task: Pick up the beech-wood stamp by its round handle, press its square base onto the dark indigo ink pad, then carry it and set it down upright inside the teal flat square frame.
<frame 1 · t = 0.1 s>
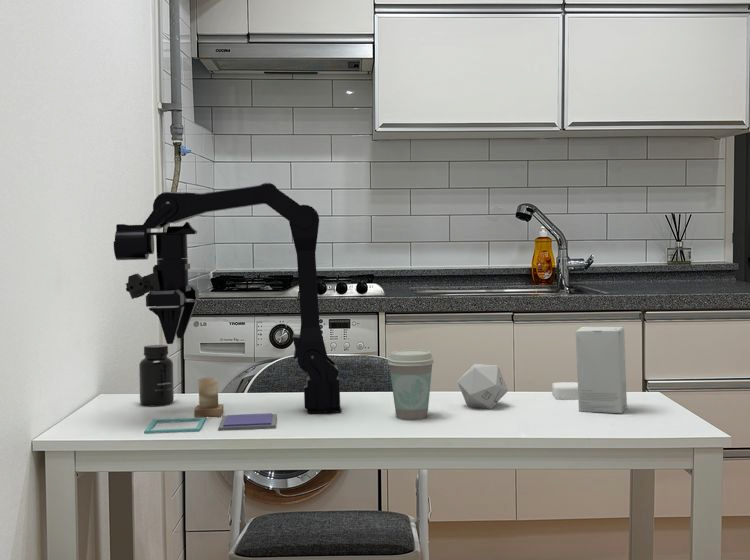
hand: (175, 340, 160), 14 cm above the table, fingers open, 9 cm apart
coffee cup: (411, 417, 155), on the table
ink pad: (248, 423, 153), on the table
teal flat square frame: (176, 426, 151), on the table
supplement bottle: (157, 404, 174), on the table
soap: (575, 399, 171), on the table
die: (482, 407, 164), on the table
skincare box: (601, 411, 158), on the table
stamp: (209, 415, 161), on the table
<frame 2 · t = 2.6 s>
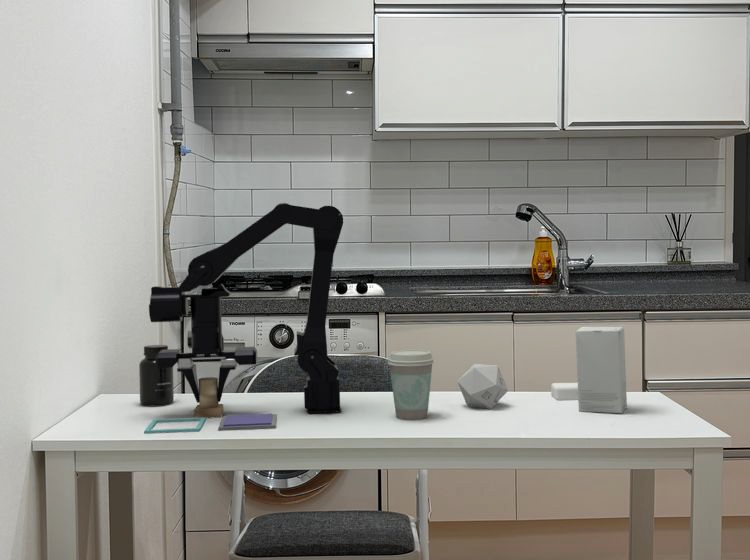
hand: (208, 401, 161), 3 cm above the table, fingers closed on stamp, 4 cm apart
stamp: (209, 415, 161), on the table, touching gripper
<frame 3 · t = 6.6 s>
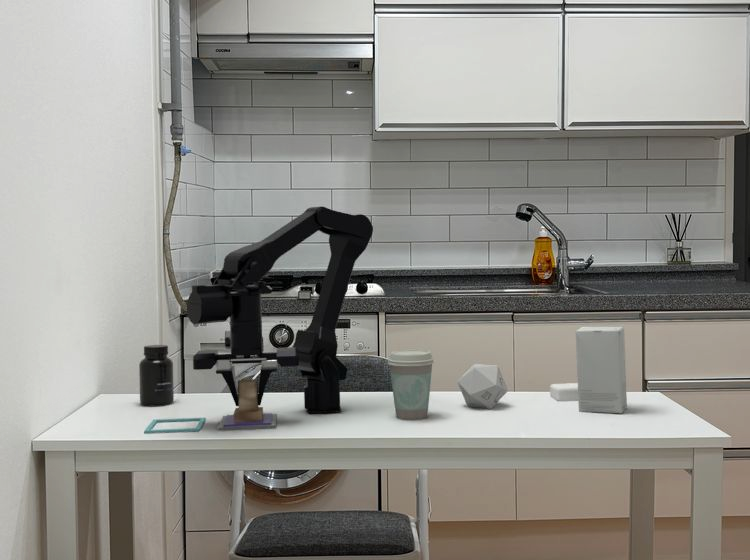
hand: (248, 405, 152), 3 cm above the table, fingers closed on stamp, 4 cm apart
stamp: (248, 418, 153), point 1 cm above the table, touching gripper, ink pad
when the fingers open (4 cm above the table, at t = 10.8 s): stamp drops 2 cm, resting in teal flat square frame.
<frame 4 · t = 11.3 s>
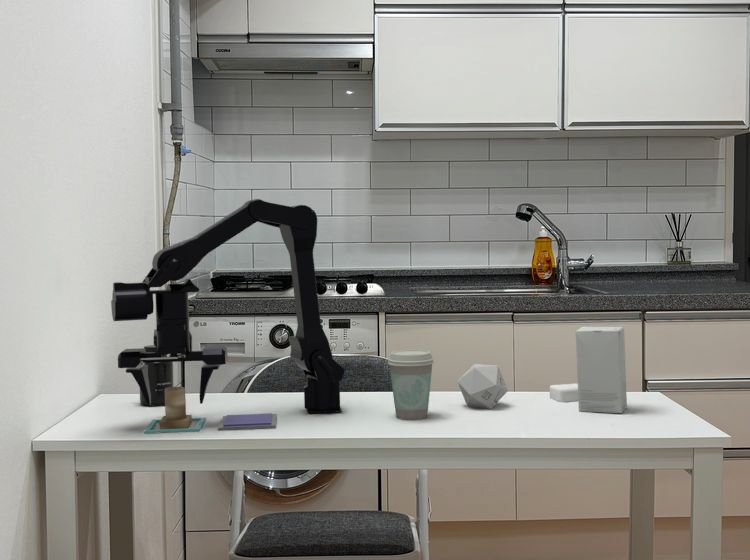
hand: (175, 404, 151), 4 cm above the table, fingers open, 9 cm apart
stamp: (176, 426, 151), resting in teal flat square frame
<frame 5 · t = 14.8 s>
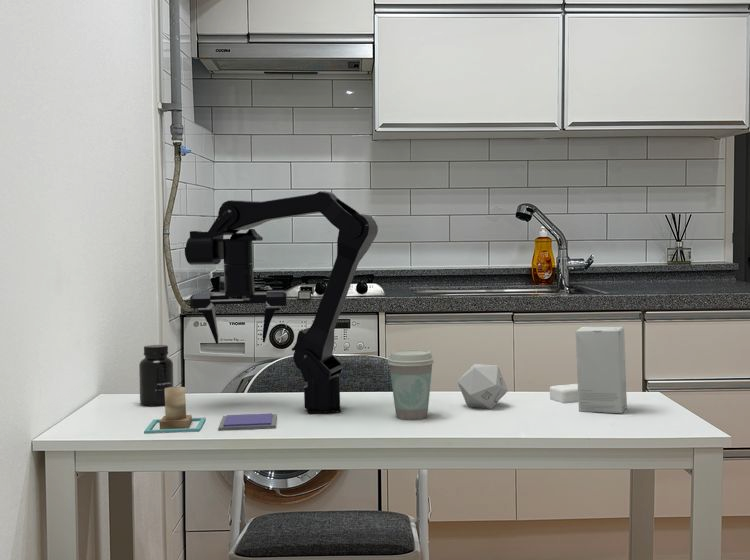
hand: (240, 342, 167), 13 cm above the table, fingers open, 9 cm apart
at the end: stamp 0.1 cm off-centre on the teal flat square frame, point 0.0 cm above the teal flat square frame's base; stamp tilted 0°; the gripper is holding nothing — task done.
